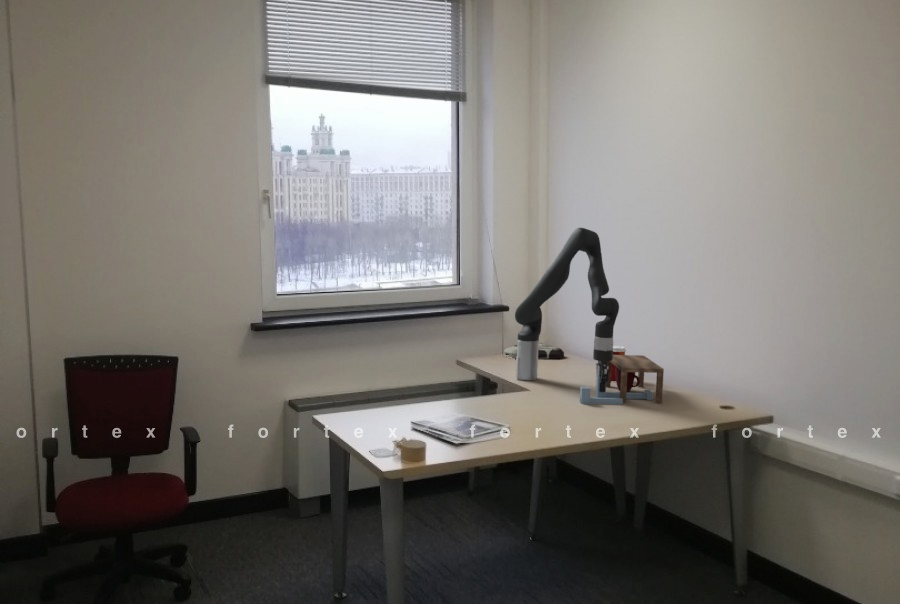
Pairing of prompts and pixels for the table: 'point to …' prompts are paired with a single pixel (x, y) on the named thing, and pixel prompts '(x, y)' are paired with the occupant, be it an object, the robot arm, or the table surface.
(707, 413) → the table surface
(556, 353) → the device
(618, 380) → the mug
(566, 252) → the robot arm
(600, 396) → the light blue l-shaped bar
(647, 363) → the small wooden table
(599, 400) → the blue l-shaped block
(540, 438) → the table surface
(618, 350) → the coffee cup
